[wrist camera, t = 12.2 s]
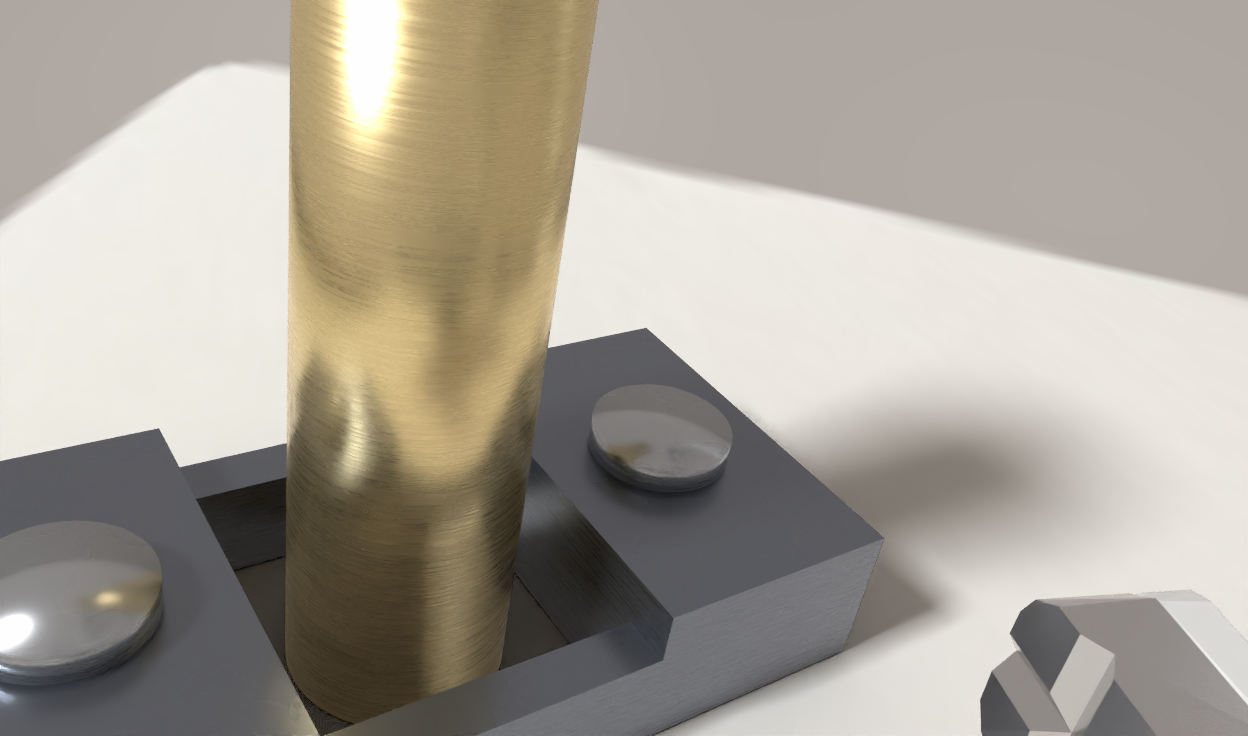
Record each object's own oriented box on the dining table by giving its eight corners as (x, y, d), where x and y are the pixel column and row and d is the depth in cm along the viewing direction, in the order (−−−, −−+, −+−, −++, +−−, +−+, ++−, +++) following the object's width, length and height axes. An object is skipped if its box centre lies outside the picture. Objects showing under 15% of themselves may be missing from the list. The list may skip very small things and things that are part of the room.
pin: (453, 532, 25) (538, -259, 17) (571, 689, 22) (742, -191, 14) (225, 597, 22) (200, -301, 14) (321, 788, 19) (357, -228, 11)
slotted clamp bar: (625, 431, 29) (650, 306, 27) (843, 650, 24) (892, 514, 22) (-133, 630, 20) (-174, 465, 18) (-53, 1046, 15) (-100, 876, 13)
